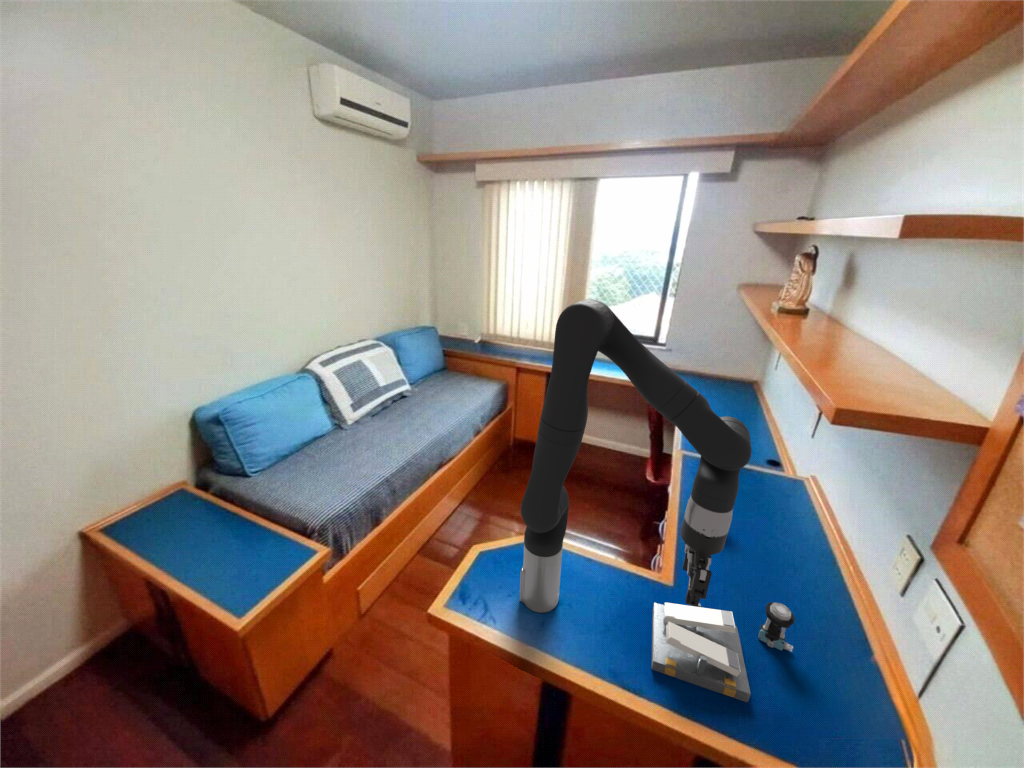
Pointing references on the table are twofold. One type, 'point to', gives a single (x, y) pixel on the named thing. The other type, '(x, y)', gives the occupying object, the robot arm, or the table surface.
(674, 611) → the rocker back
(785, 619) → the push button
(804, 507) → the table surface
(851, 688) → the table surface
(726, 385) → the table surface
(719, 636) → the switch unit
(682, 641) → the rocker front
